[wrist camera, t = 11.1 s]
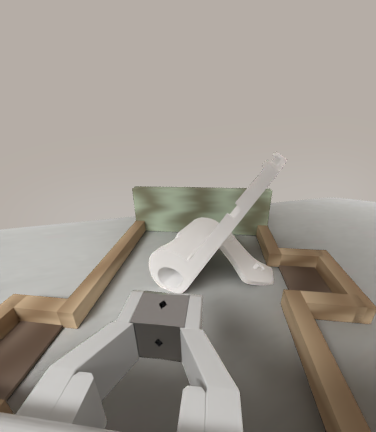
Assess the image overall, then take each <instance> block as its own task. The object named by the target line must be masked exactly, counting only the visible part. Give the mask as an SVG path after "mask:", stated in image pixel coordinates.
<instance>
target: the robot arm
mask: <svg viewBox="0 0 376 432" xmlns="http://www.w3.org/2000/svg"><path fill="white" fill-rule="evenodd" d="M202 317H203V296H202V295H195V294H178V293H162V292H152V291H140V290H133V291H132V292H131V293H130V295H129V297H128V299H127V301H126V303H125V304H124V306H123V308H122V310H121V312H120V314H119V316H118V318H117V320H116V321H112V322H110V323H109V324H107V325H106V326H105V327H103V328H102V329H100V330H99V331H98V332H96V333H95V334H94V335H92V336H91V337H89V338H88V339H87V340H85V341H84V342H82V343H81V344H80V345H78V346H77V347H75V348H74V349H73V350H71V351H70V352H68V353H67V354H66V355H64V356H63V357H62V358H60V359H59V360H57V361H56V362H55V363H53V364H52V365H50V366H49V368H48V369H47V370H46V372H45V373H44V375H43V376H42V377H41V379H40V380H39V382H38V383H37V385H36V386H35V387H34V389H33V390H32V392H31V393H30V394H29V396H28V397H27V399H26V400H25V402H24V403H23V404H22V406H21V407H20V409H19V410H18V412H17V413H16V414H9V413H3V412H0V432H120V431H114V430H107V429H105V427H106V424H107V418H106V415H105V412H104V409H103V406H102V403H101V401H102V400H103V399H104V398H105V397H106V396H107V394H108V393H109V392H110V391H111V390H112V389H113V388H114V387H115V385H116V384H117V383H118V382H119V381H120V380H121V379H122V378H123V376H124V375H125V374H126V373H127V372H128V371H129V370H130V368H131V367H132V366H133V365H134V364H135V363H136V362H137V361H138V359H139V357H142V358H155V359H164V360H171V361H178V362H182V364H183V367H184V370H185V373H186V376H187V378H188V381H189V384H190V386H188V385H187V386H186V387H185V388H184V389H183V392H182V399H181V406H180V413H179V420H178V427H177V432H243V424H242V413H241V402H240V391H239V389H238V387H237V386H236V384H235V382H234V381H233V379H232V377H231V376H230V374H229V372H228V371H227V369H226V367H225V365H224V364H223V362H222V360H221V359H220V357H219V355H218V354H217V352H216V350H215V348H214V347H213V345H212V343H211V342H210V340H209V338H208V337H207V335H206V333H205V331H204V330H202Z"/></svg>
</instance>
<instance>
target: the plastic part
mask: <svg viewBox="0 0 376 432" xmlns="http://www.w3.org/2000/svg"><path fill="white" fill-rule="evenodd" d="M273 156H275V158H274V159H273V160H272V162H271V161H269V160H266V161H265V162H264V164H263V165H262V167H263V170H262V171H261V172H260V174H259V175H258V176H257V177H256V178H255V180H254V181H253V182H252V183H251V185H250V186H249V187H248V188H247V189H246V190H245V192H244V193H243V194H242V195H241V196H240V197H239V199H238V200H237V201H236V202H235V204H236V205H237V206H236V207H235V208H234V210H233V211H232V212H231V213H230V214H228V213H227V214H226V215H225V217H224V218H223V219H222V220H221V222H220V223H218V222H217V221H216V220H213V219H210V218H204V217H201V218H197V219H195V220H193V221H192V222H191V223H190V224H188V225H187V226H186V227H185V228H183V229H182V230H181V231H180V232H178V234H177V235H176V237H175V238H174V240H172V241H171V242H169V243H168V244H165V245H163V246H161V247H159V248H158V249H157V250H156V251H154V252H153V253H152V254H151V256H150V258H149V270H150V273H151V276H152V278H153V279H154V281H155V282H156V283H157V284H158V285H159V286H160V287H161V288H164V289H166V290H169V291H171V292H174V293H178V294H181V293H183V292H184V291H186V289H187V288H188V287H189V286H190V285H191V283H192V282H193V281H194V279H195V278H196V277H197V276H198V274H199V273H200V272H201V270H202V269H203V268H204V266H205V265H206V264H207V263H208V261H209V260H210V259H211V258H212V256H213V255H214V254H215V252H216V251H217V250H218V249H220V250H221V251H222V252H223V254H224V255H225V256H226V257H227V259H228V260H229V261H230V263H231V264H232V265H233V267H234V268H235V270H236V272H237V274H238V275H239V277H240V279H241V280H242V281H243V282H244V283H246V284H249V285H260V286H264V285H272V284H273V282H274V277H273V270H272V268H271V267H269V266H267V265H265V264H263V263H261V262H259V261H258V260H256V259H255V258H253V257H252V256H251V255H250V254H249V253H248V252H247V251H246V250H245V249H244V247H243V246H242V245H241V244H240V243H239V241H238V240H237V239H236V238H235V236H234V235H233V233H232V231H233V230H234V228H235V227H236V226H237V225H238V223H239V222H240V221H241V219H242V218H243V217H244V216H245V214H246V213H247V212H248V211H249V209H250V208H251V207H252V206H253V204H254V203H255V202H256V201H257V200H258V198H259V197H260V196H261V195H262V193H263V192H264V191H265V190H266V188H267V187H268V186H269V185H270V183H271V182H272V181H273V180H274V178H275V177H276V176H277V175H278V173H279V172H280V171H281V169H282V168H283V166H284V165H285V164H286V160H287V159H286V158H285V157H283V156H282V155H281V154H279V153H278V152H275V153H274V154H273Z"/></svg>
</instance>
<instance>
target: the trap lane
mask: <svg viewBox="0 0 376 432" xmlns="http://www.w3.org/2000/svg"><path fill="white" fill-rule="evenodd" d="M246 189H247V188H198V187H197V188H195V187H134V188H133V189H132V191H133V199H134V205H135V214H136V221H135V223H134V224H133V225H132V226H131V227H130V228H129V229H128V231H127V232H126V233H125V234H124V235H123V236H122V237H121V239H120V240H119V241H118V242H117V243H116V244H115V245H114V247H113V248H112V249H111V250H110V251H109V252H108V253H107V255H106V256H105V257H104V258H103V259H102V260H101V261H100V263H99V264H98V265H97V266H96V267H95V268H94V269H93V271H92V272H91V273H90V274H89V275H88V276H87V278H86V279H85V280H84V281H83V282H82V283H81V284H80V286H79V287H78V288H77V289H76V290H75V291H74V292H73V294H72V295H71V296H70V297H69V298H68V299H63V298H52V297H42V296H31V295H20V294H13V295H12V296H10V297H9V298H8V299H7V300H5V301H4V302H3V303H2V304H1V305H0V412H3V413H9V414H13V412H12V410H11V409H10V407H9V406H8V404H7V403H6V401H7V400H8V398H9V397H10V396H11V394H12V393H13V392H14V390H15V389H16V388H17V387H18V385H19V384H20V383H21V381H22V380H23V379H24V377H25V376H26V375H27V374H28V372H29V371H30V370H31V368H32V367H33V366H34V365H35V363H36V362H37V361H38V359H39V358H40V357H41V355H42V354H43V353H44V352H45V350H46V349H47V348H48V346H49V345H50V344H51V343H52V341H53V340H54V339H55V337H56V336H57V335H58V333H59V332H60V331H61V330H62V328H63V327H65V328H74V329H78V327H79V326H80V324H81V323H82V321H83V320H84V318H85V317H86V316H87V314H88V313H89V311H90V310H91V308H92V307H93V306H94V304H95V303H96V301H97V300H98V298H99V297H100V296H101V294H102V293H103V291H104V290H105V288H106V287H107V285H108V284H109V283H110V281H111V280H112V278H113V277H114V275H115V274H116V273H117V271H118V270H119V268H120V267H121V265H122V264H123V262H124V261H125V260H126V258H127V257H128V255H129V254H130V252H131V251H132V250H133V248H134V247H135V245H136V244H137V242H138V241H139V240H140V238H141V237H142V235H143V234H144V232H145V231H166V232H180V231H181V230H182V229H183V228H185V227H186V226H187V225H188V224H190V223H191V222H192V221H193V220H195V219H197V218H201V217H204V218H210V219H213V220H216V221H217V222H218V223H220V222H221V220H222V219H223V218H224V217H225V215H226V214H227V213H228V214H230V213H231V212H232V211H233V210H234V208H235V207H236V206H237V205H236V204H235V202H236V201H237V200H238V199H239V197H240V196H241V195H242V194H243V193H244V192H245V190H246ZM271 196H272V191H271V190H270V189H266V190H265V191H264V192H263V193H262V195H261V196H260V197H259V198H258V200H257V201H256V202H255V203H254V204H253V206H252V207H251V208H250V209H249V211H248V212H247V213H246V214H245V216H244V217H243V218H242V219H241V221H240V222H239V223H238V225H237V226H236V227H235V228H234V230H233V231H232V233H233V235H256V236H257V239H258V242H259V245H260V247H261V250H262V253H263V256H264V259H265V261H266V264H267V266H273V267H279V269H280V272H281V274H282V276H283V278H284V281H285V283H286V285H287V288H288V290H285V289H284V290H283V295H282V300H281V306H282V309H283V312H284V315H285V318H286V320H287V323H288V326H289V329H290V332H291V334H292V337H293V340H294V343H295V346H296V348H297V351H298V354H299V357H300V360H301V363H302V365H303V368H304V371H305V374H306V377H307V379H308V382H309V385H310V388H311V391H312V393H313V396H314V399H315V402H316V405H317V407H318V410H319V413H320V416H321V419H322V421H323V424H324V427H325V430H326V432H371V430H370V428H369V426H368V424H367V422H366V420H365V418H364V416H363V414H362V412H361V410H360V408H359V406H358V404H357V402H356V400H355V398H354V397H353V395H352V393H351V391H350V389H349V387H348V385H347V383H346V381H345V379H344V377H343V375H342V373H341V371H340V369H339V367H338V365H337V363H336V361H335V359H334V357H333V355H332V353H331V351H330V349H329V347H328V345H327V343H326V341H325V339H324V337H323V335H322V333H321V331H320V329H319V327H318V325H317V323H316V321H315V319H319V320H330V321H341V322H352V323H363V324H371V322H372V319H373V317H374V315H375V313H376V306H375V305H374V304H373V303H372V302H371V301H370V299H369V298H368V297H367V296H366V295H365V294H364V293H363V292H362V290H361V289H360V288H359V287H358V286H357V285H356V284H355V282H354V281H353V280H352V279H351V278H350V277H349V276H348V275H347V273H346V272H345V271H344V270H343V269H342V268H341V267H340V265H339V264H338V263H337V262H336V261H335V260H334V259H333V257H332V256H331V255H330V254H329V253H328V252H327V251H326V250H309V249H290V248H278V246H277V244H276V242H275V240H274V238H273V236H272V234H271V232H270V230H269V228H268V226H267V224H268V217H269V210H270V203H271Z"/></svg>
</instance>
